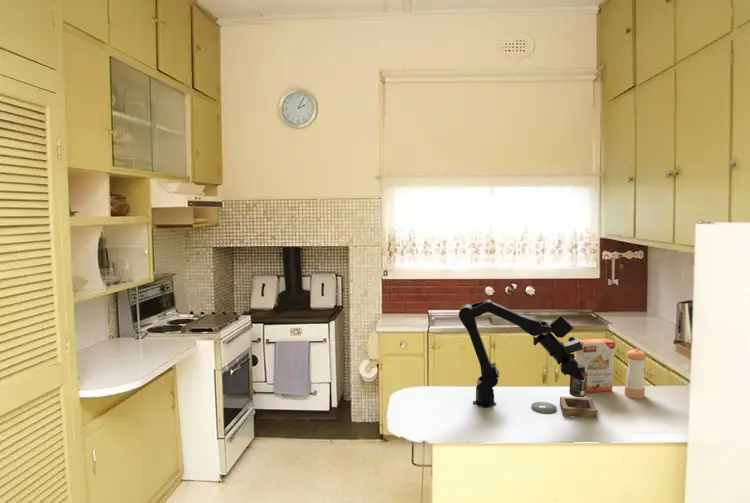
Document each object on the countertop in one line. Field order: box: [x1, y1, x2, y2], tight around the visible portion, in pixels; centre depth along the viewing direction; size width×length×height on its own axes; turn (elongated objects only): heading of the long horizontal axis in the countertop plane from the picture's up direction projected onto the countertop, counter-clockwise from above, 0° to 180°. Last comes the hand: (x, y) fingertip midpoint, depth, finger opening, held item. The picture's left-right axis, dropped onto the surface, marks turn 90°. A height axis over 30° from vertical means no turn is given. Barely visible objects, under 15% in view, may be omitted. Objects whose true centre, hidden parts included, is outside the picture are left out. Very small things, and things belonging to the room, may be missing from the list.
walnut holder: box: [559, 396, 598, 419], centre depth 209 cm, size 12×12×3 cm
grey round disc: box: [530, 401, 557, 414], centre depth 211 cm, size 9×9×1 cm
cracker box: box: [575, 338, 616, 394], centre depth 229 cm, size 14×6×21 cm, turn 100°
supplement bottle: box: [569, 364, 587, 398], centre depth 207 cm, size 6×6×11 cm
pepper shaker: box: [624, 348, 647, 400], centre depth 223 cm, size 7×7×19 cm
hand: (582, 376), depth 207 cm, fingers closed on supplement bottle, 6 cm apart
